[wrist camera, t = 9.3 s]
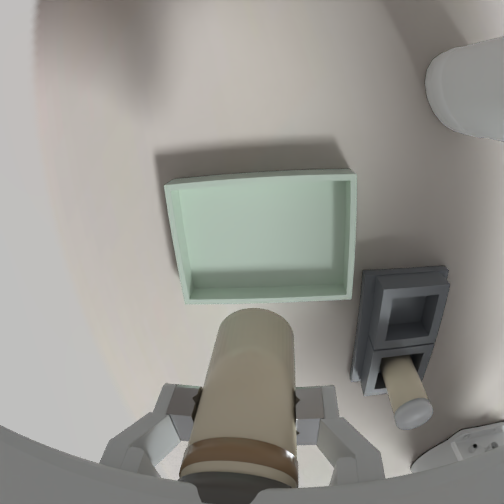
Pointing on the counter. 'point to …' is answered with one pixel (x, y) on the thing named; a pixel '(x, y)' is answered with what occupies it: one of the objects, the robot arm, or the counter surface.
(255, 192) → the parts tray
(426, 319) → the fuse block
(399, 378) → the fuse
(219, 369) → the fuse
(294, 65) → the counter surface
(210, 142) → the counter surface
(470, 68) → the bottle
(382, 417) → the counter surface
